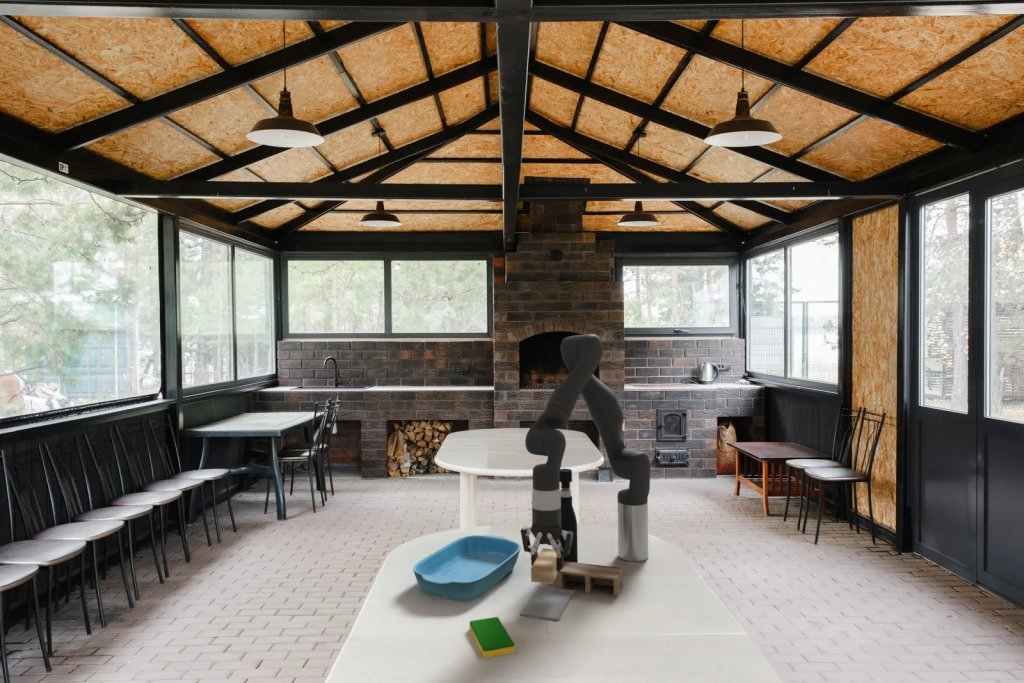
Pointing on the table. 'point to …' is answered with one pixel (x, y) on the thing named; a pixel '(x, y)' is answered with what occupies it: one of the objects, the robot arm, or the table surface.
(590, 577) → the walnut shelf
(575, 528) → the wine bottle
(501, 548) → the casserole dish
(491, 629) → the dish sponge
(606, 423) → the robot arm
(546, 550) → the oak block
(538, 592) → the slate mat
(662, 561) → the table surface
